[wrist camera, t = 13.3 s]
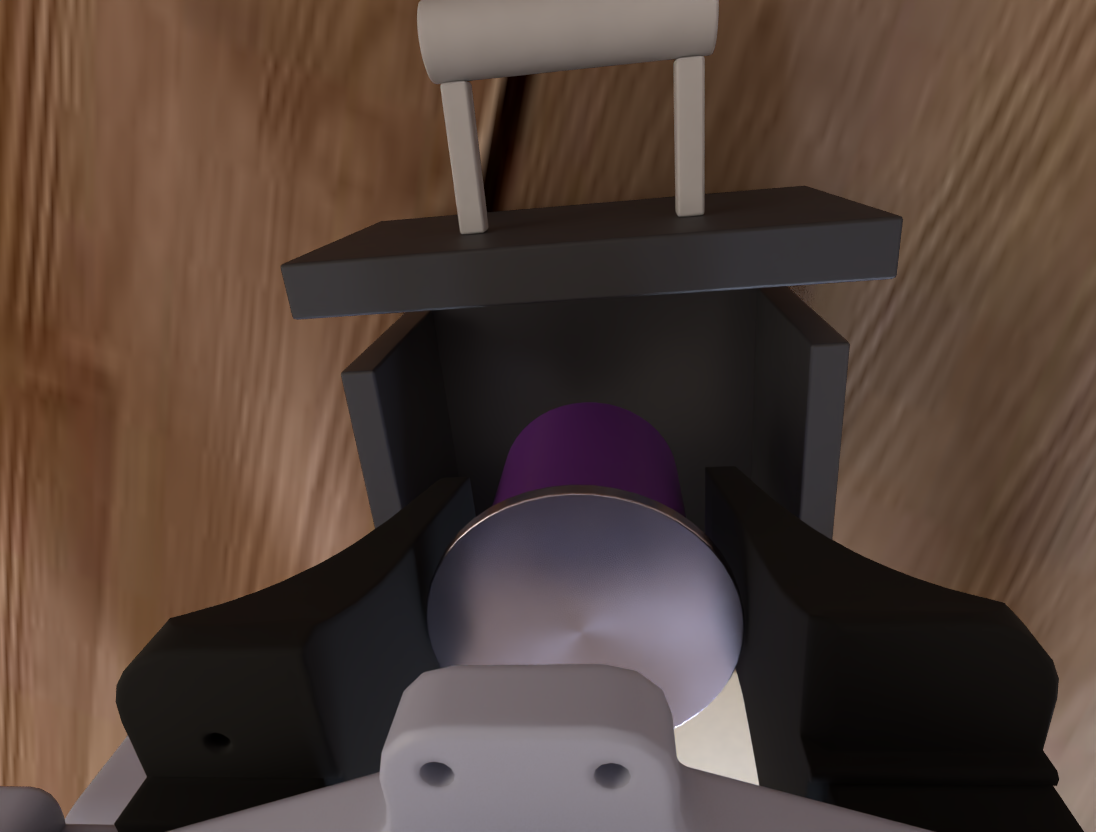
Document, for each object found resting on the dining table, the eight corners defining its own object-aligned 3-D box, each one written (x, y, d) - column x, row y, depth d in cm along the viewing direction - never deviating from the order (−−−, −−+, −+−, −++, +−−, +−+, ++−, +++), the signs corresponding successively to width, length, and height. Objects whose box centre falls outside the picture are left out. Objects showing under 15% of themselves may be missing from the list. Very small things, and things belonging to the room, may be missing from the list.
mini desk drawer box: (422, 501, 25) (338, 674, 17) (800, 487, 24) (896, 669, 16) (471, 763, 30) (423, 986, 23) (781, 765, 29) (847, 1005, 21)
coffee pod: (465, 382, 15) (400, 500, 10) (703, 368, 14) (749, 486, 10) (493, 575, 17) (449, 747, 12) (703, 570, 16) (741, 748, 12)
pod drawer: (346, 39, 18) (212, -3, 12) (818, -15, 17) (940, -95, 11) (441, 566, 25) (387, 712, 19) (785, 557, 24) (848, 711, 18)
